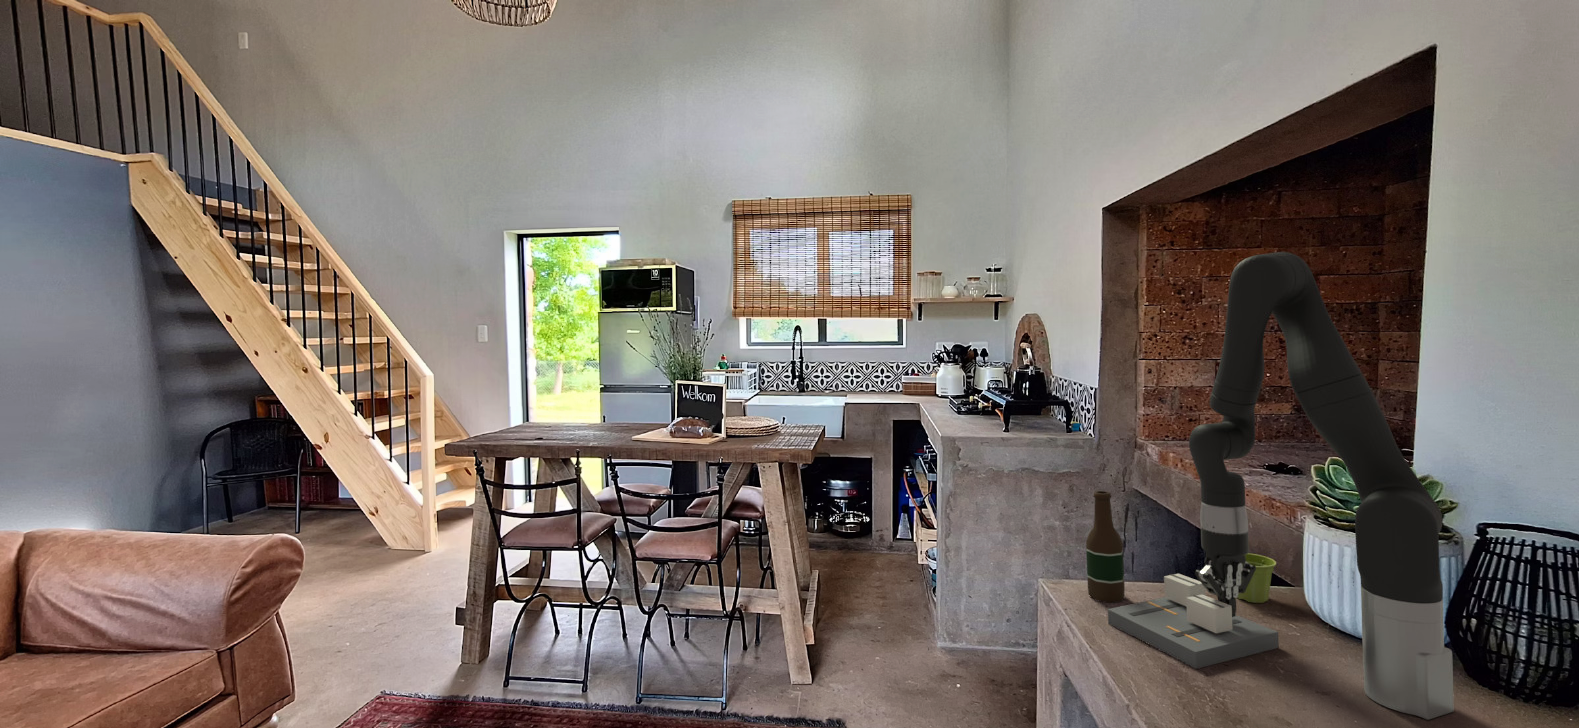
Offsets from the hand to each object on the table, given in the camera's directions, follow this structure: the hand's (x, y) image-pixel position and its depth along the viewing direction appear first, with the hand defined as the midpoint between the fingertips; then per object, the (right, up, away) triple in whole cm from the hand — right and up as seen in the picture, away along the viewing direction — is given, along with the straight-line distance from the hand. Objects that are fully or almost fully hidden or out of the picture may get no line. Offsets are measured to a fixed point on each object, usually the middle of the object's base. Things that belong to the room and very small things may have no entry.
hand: (1227, 615), depth 121 cm
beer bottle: (-12, -5, +23) cm, 26 cm away
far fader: (-2, -1, +10) cm, 10 cm away
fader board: (-6, -5, +2) cm, 8 cm away
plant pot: (+18, -3, +18) cm, 25 cm away
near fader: (-4, -1, -1) cm, 5 cm away
